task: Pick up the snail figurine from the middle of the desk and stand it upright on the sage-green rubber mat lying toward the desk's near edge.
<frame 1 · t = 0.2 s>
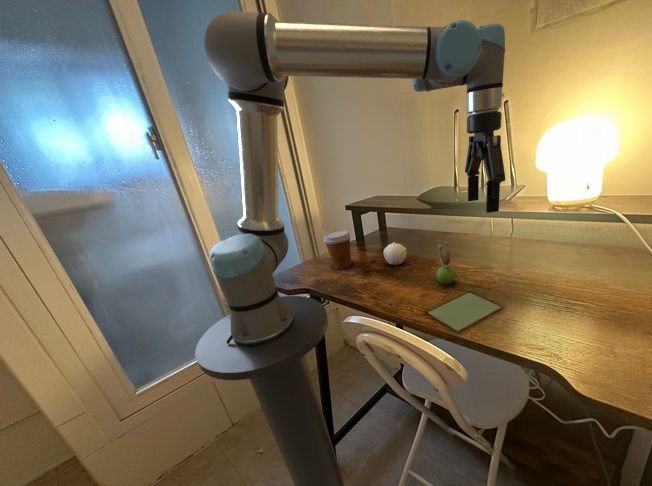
hand: (482, 205, 78), 21 cm above the table, tool pointing down, fingers open, 13 cm apart
disposable coffee cup: (342, 265, 109), on the table
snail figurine: (445, 283, 87), on the table
edge mat: (464, 311, 73), on the table
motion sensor: (396, 264, 104), on the table
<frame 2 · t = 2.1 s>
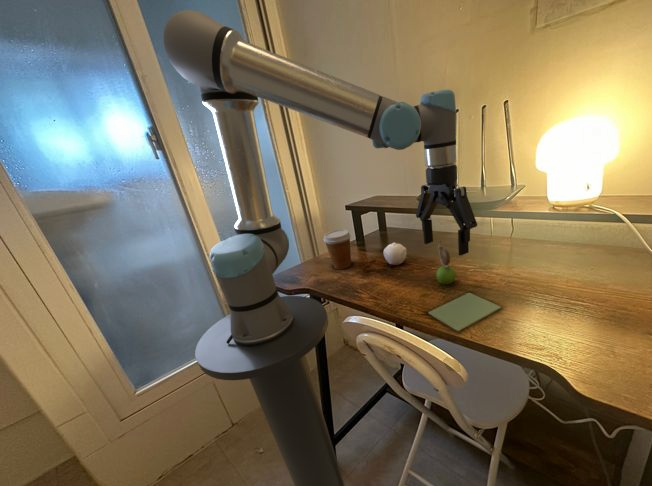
hand: (444, 247, 82), 11 cm above the table, tool pointing down, fingers open, 13 cm apart
nothing on the table moved.
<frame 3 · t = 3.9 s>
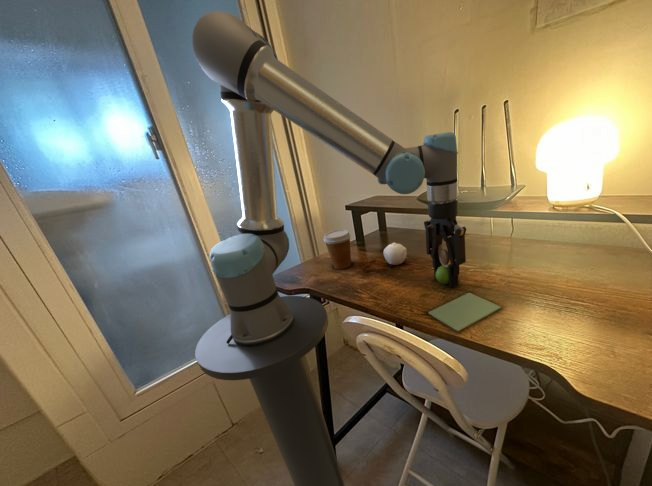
hand: (446, 281, 86), 0 cm above the table, tool pointing down, fingers closed on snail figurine, 5 cm apart
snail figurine: (444, 282, 87), on the table, touching gripper
everything else where it was.
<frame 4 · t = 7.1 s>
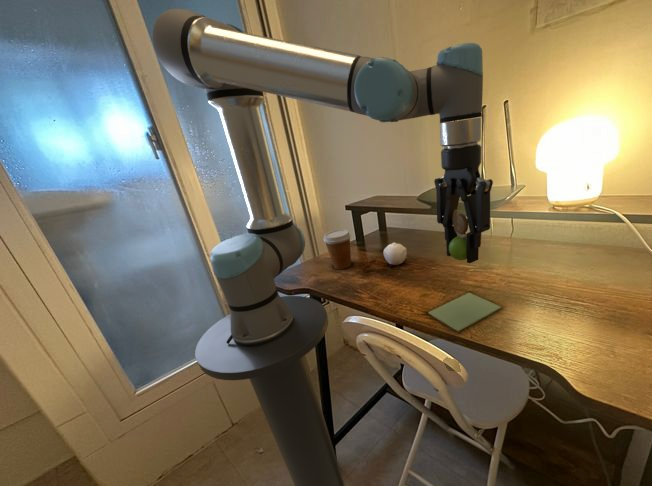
hand: (462, 257, 68), 14 cm above the table, tool pointing down, fingers closed on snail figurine, 5 cm apart
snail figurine: (460, 259, 68), point 13 cm above the table, touching gripper
everything else where it was.
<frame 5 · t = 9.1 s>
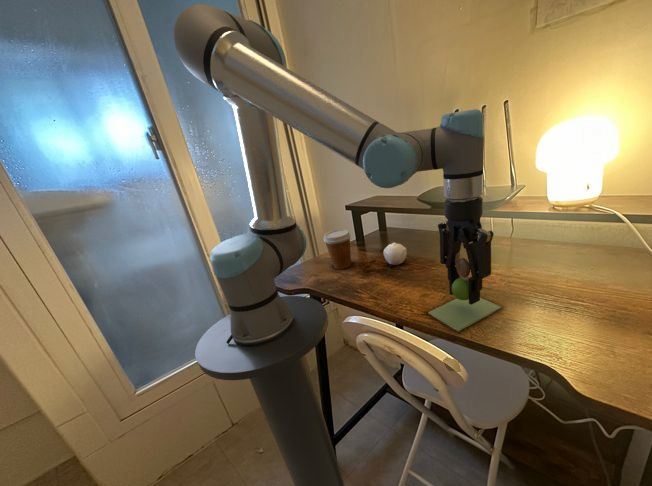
hand: (464, 296, 71), 4 cm above the table, tool pointing down, fingers closed on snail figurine, 5 cm apart
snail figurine: (462, 298, 72), point 3 cm above the table, touching gripper
everything else where it was.
when the fingers open (1 cm above the table, at t = 10.3 s): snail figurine stays where it is, resting on edge mat.
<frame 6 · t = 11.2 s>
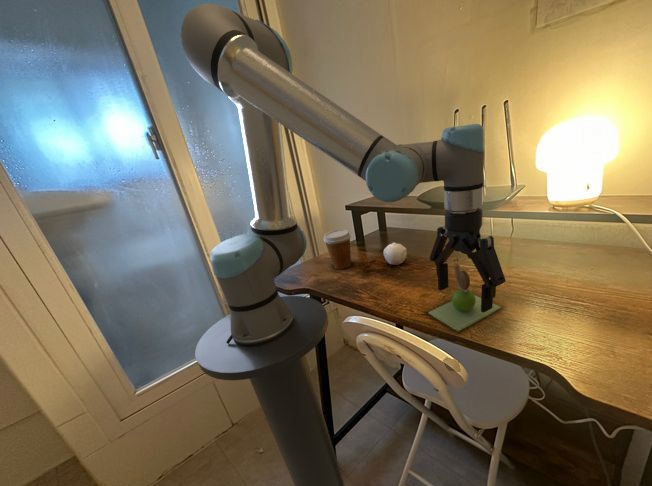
hand: (463, 298, 71), 4 cm above the table, tool pointing down, fingers open, 13 cm apart
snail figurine: (462, 309, 73), resting on edge mat
everything else where it was.
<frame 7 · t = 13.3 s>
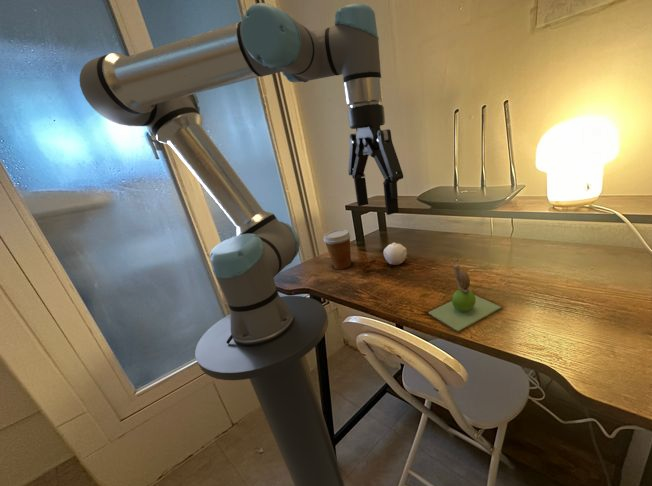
hand: (376, 209, 71), 25 cm above the table, tool pointing down, fingers open, 13 cm apart
nothing on the table moved.
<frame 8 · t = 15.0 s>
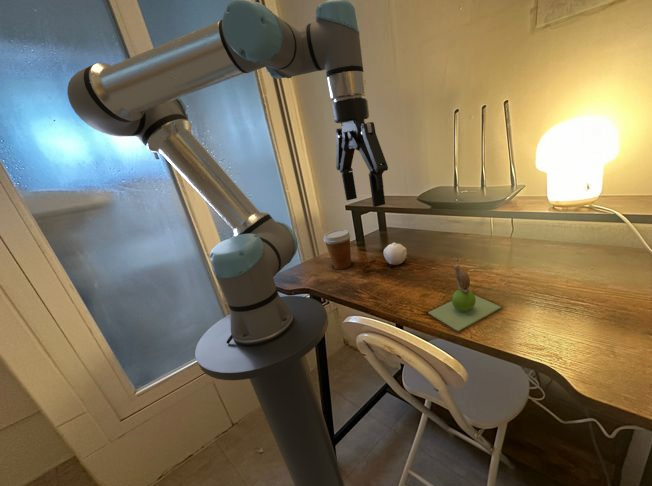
hand: (364, 202, 72), 27 cm above the table, tool pointing down, fingers open, 13 cm apart
nothing on the table moved.
at the end: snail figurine 0.5 cm from the edge mat (horizontally); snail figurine tilted 0°; the gripper is holding nothing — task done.
